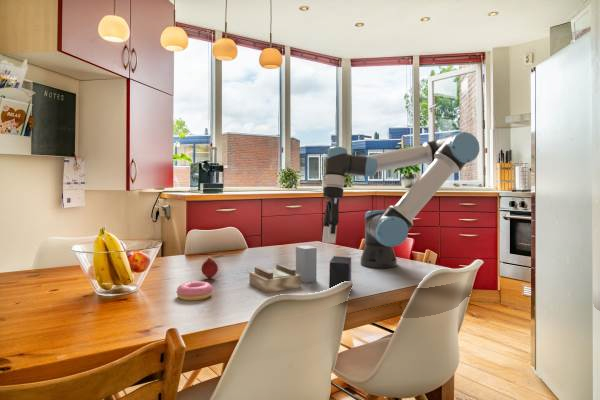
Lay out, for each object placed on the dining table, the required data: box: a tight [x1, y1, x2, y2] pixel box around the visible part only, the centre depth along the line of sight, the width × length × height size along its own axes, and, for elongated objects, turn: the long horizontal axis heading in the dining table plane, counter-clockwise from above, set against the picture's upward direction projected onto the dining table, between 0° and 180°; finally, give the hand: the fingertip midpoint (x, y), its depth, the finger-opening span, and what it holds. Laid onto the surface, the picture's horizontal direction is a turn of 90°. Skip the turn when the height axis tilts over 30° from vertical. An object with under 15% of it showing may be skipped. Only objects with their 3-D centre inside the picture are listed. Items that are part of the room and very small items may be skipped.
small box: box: [328, 255, 352, 289], centre depth 130 cm, size 11×6×10 cm, turn 168°
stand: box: [248, 263, 302, 293], centre depth 137 cm, size 13×13×6 cm
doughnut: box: [175, 280, 214, 302], centre depth 124 cm, size 11×11×4 cm
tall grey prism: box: [295, 244, 318, 284], centre depth 144 cm, size 5×6×12 cm
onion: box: [200, 256, 219, 279], centre depth 146 cm, size 6×6×8 cm
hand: (328, 243), depth 151 cm, fingers open, 13 cm apart
